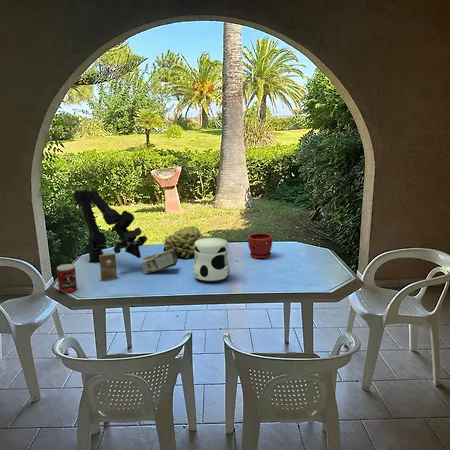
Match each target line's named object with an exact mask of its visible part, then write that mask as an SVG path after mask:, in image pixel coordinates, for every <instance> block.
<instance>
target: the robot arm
mask: <svg viewBox="0 0 450 450" xmlns="http://www.w3.org/2000/svg"><path fill="white" fill-rule="evenodd" d="M73 197H74V200H75V203H76V204H77V205H78V206H80V207H81V211H82V214H83V217H84V220H85V224H86V226H87V229H88V232H89V234H88V238H87V240H88V243H87V244H86V246H85V250H86V251H87V252H89V255H88V256H89V261H88V263H100V258H99V255H105V254H104V251H103V249H105V248H106V243H107V241H106V240H107V238H106V236H105V233H104V232H101V231H100V230H99V227H98V224H97V221H96V218H95V214H94V211H93V208H92V202H93V204H94V206H96V207H97V209H98V210H99V211H100V213H102V219H103V220H104V221H105V223H106V224H107V225H108V226H111V232H112V233H114V232H115V234H116V235H117V237H118V241H120V242H117V243H116V245H115V246H114V247H113V251H114V254H115V255H116V254H119V253H121V250H122V249H125V250H124V252H125V253H127V254H130V255H132V256H135V257H136V258H138V259H140V258H141V257H142V255H141V251H140V247H141V246H142V247H143V246H144V245H145V243H146V242H147V241H148V237H147V236H146V235H141V234H142V232H143V231H142V229H141V228H140V227H136V228H134V230H128V228H129V227H130V226H131V224H132V223H133V222H134V220H135V215H134V214H133V213H132V212H129V211H127V210H123V211H122V212H121V214H120V213H119V212H118V211H117V210H116V209H114V208H111V207H110V206H109V205H108V203H107V202H106V201H105V200H104V199H103V198H102V196H101V195H100V193H99V191H98V190H96V189H95V190H89V189H87V188H86V189H79V190H75V192H74V193H73ZM112 225H113V226H112Z"/></svg>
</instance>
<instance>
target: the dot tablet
mask: <svg viewBox="0 0 450 450" xmlns="http://www.w3.org/2000/svg"><path fill="white" fill-rule="evenodd" d="M99 258H100V262H99V267H100V269H99V270H100V280H101V282H104V281H112V280H117V279H118V273H117V272H118V271H117V259H116V253H115V252H114V253H108V254H104V255H99Z"/></svg>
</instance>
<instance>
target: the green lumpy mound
mask: <svg viewBox="0 0 450 450" xmlns="http://www.w3.org/2000/svg"><path fill="white" fill-rule="evenodd" d="M164 237H165V238H164V242H163V243H164V244H163V246H164V247H163V249H162V250H163V252H166V251H169V250H173V249H174V251H175V254H176V256H177V258H183V259H184V260H186V259H192V258H195V247H194V246H195V242H196V241H197V240H199V239H204V238H205V237H204V235H203V233H201V231H200V230H199V228H198V227H196V226H194V225H190V226H188V227H187V226H185V227H183V228H182V227H181V228H180V229H178V230H176V231H174V233H173V234H171V235H168V236H167V235H166V236H164Z"/></svg>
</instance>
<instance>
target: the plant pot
mask: <svg viewBox="0 0 450 450" xmlns="http://www.w3.org/2000/svg"><path fill="white" fill-rule="evenodd" d="M247 244H248V249H249V250H250V254H249V255H250V257H251V258H253V259H256V258H265V259H268V258H270V257H271V255H272V252H271V250H272V247H273V236H272V234H270V233H264V232H261V233H252V234H249V235H248V236H247Z"/></svg>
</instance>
